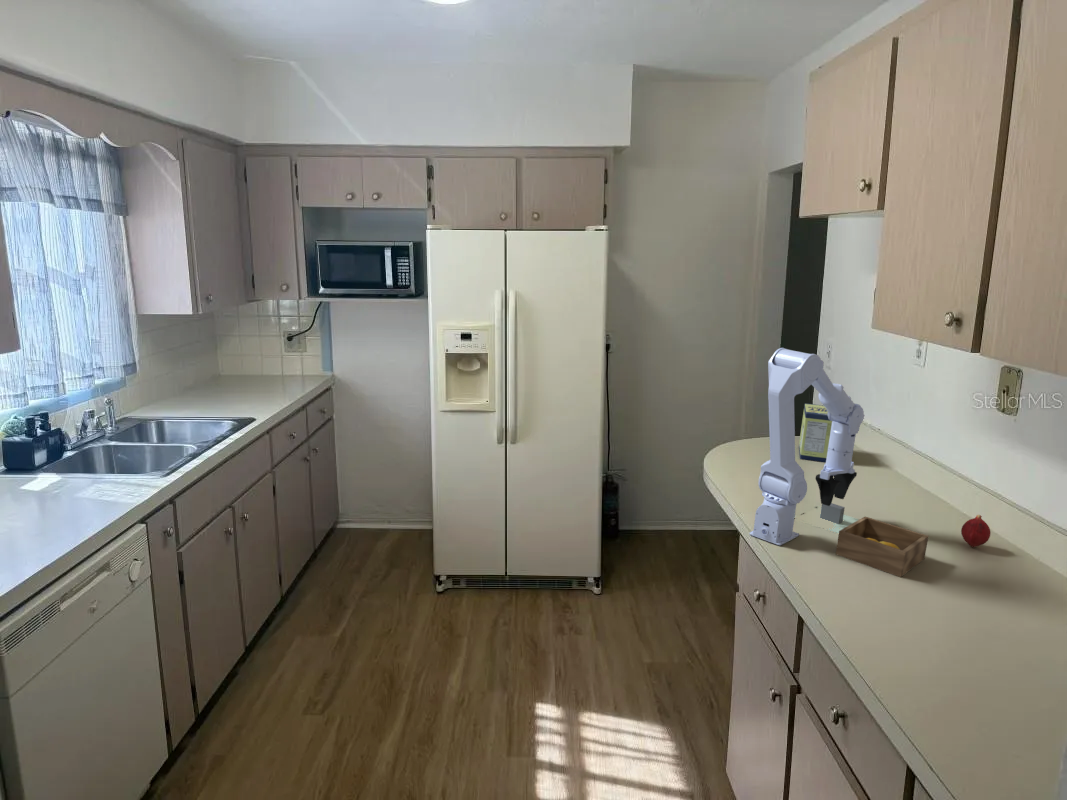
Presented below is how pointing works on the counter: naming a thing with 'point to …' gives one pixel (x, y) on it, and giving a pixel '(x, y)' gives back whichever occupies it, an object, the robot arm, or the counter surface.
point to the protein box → (814, 433)
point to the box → (882, 546)
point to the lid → (836, 516)
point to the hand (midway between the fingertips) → (832, 501)
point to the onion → (975, 531)
